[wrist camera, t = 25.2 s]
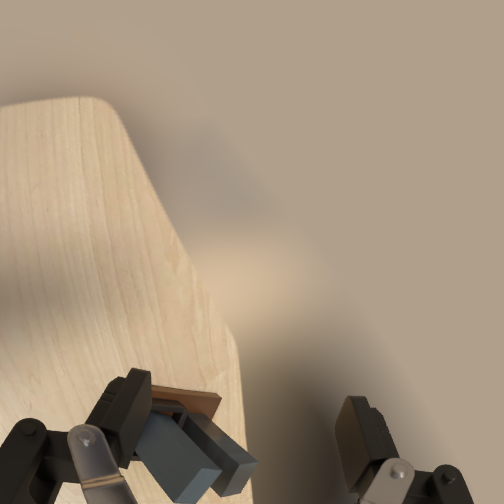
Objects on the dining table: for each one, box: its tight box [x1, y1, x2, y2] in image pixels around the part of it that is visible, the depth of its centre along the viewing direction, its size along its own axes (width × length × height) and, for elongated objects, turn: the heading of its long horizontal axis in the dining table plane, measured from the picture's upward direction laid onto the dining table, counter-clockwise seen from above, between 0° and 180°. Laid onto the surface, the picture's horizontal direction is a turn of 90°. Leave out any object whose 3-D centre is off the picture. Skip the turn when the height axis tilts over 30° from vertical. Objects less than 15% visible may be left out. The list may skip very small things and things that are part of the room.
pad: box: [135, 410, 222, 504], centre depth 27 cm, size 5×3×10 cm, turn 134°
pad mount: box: [131, 385, 259, 497], centre depth 29 cm, size 10×12×11 cm
